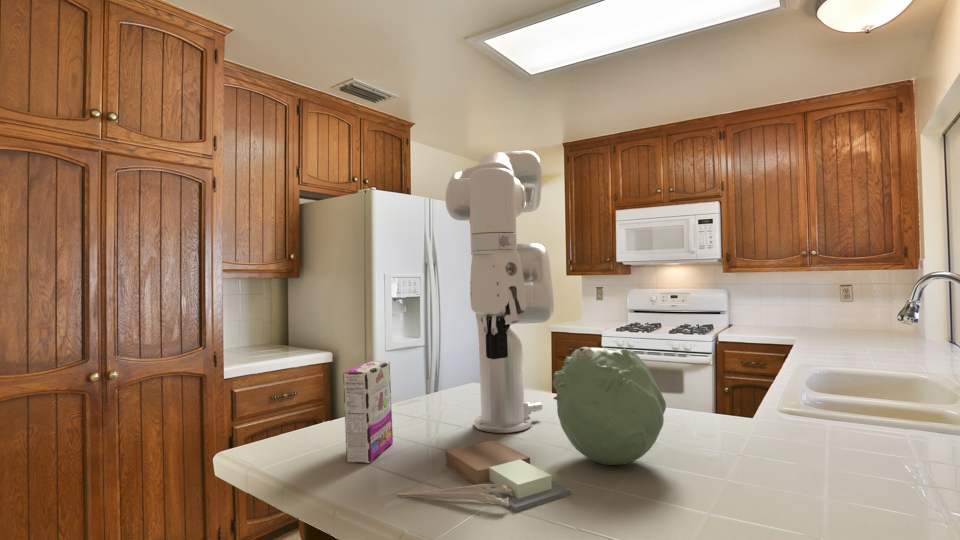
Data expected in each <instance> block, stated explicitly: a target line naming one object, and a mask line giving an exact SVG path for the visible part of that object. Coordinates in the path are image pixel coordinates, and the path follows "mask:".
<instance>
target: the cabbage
mask: <svg viewBox="0 0 960 540" xmlns="http://www.w3.org/2000/svg"><path fill="white" fill-rule="evenodd" d="M563 365H564V366H562V367H561V370H558V371H556V370H555V371H554V374H553V380H552V384H551V385H552V387H553V389H555V391H556V396H554V397H553V400H555V401H556V407H557V408H556V409H557V410H556V412H557V416H558V420H559V423H560V427H561V429H562V430H563V432H564V434H565V436H566V437H567V439H568V441H569V442H570V443H571V445H572V447H574V449H576V451H578V452H579V453H580V454H582V455H583V456H584V457H586V458H587V459H589V460H591V461H593V462H596V463H599V464H600V465H606V466H617V465H618V466H619V465H621V466H622V465H626V464H629V463H632V462H635V461H637V460H639V459H640V458H642V457H643V456H644V455H645V454H646V453H648V452H649V451H650V450H651V448H652V447H653V446H654V444H655V443H656V441H657V439H658V437H659V435H660V432H661V430H662V429H663V426H664V421H665V420H664V419H665V418H664V417H665V416H664V414H665V411H666V408H667V404H666V403H667V402H666V401H665V398H664V396H663V394H662V392H661V389H659V387H658V385H657V382H656V380H655V378H654V376H653V374H652V372H651V370H650V368H649V366H648V365H647V364H646V363H645V362H644V361H642V358H640V356H639V355H637V353H636V352H635V351H631V350H628V349H626V348H622V349H616V350H613V349H607V348H602V347H587V346H582V347H580V348H578V349H576V350H574V351H572V353H571V355H570V356H565V358H564V361H563Z"/></svg>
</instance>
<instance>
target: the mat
mask: <svg viewBox="0 0 960 540" xmlns="http://www.w3.org/2000/svg"><path fill="white" fill-rule="evenodd" d="M551 483H552V489H549V490H546V491H543V492H539V493H536V494H533V495H529V496H526V497H523V498H520V499H518V498H517V497H515V496H514V495H513V497H512V496H510V495H509V494H505V493H487V494H489V495H495V496H496V497H498V498H502V499H506V498H509V500H508V501H509V506H508V507H507V508H509V509H510V510H511V511H513V512H514V513H517V512H520V511H523V510H526V509H529V508H532V507H535V506H538V505H541V504H544V503H548V502H552V501H553V500H558V499H560V498H563V497H566V496H569V495H571V494H572V493H571V492H572V491H571V489H569V488H568V487H566V486H564V485H561V484H560V483H558V482H556V481H554V480H552V479H551ZM480 484H495V483H493V482H491V481H488V482H484V483H480ZM491 488H492V489H495V488H496V487H491ZM483 489H485V488H484V487H483Z"/></svg>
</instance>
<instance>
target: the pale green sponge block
mask: <svg viewBox="0 0 960 540" xmlns="http://www.w3.org/2000/svg"><path fill="white" fill-rule="evenodd" d="M489 480H490V481H491V482H493V483H495V484H500V485H504V486H509V488H511V489H512V490H513V492H512V494H513V495H514V496H515V497H517V498H518V499H520V498H523V497H526V496H529V495H533V494H536V493H539V492H543V491H546V490H549V489H552V483H551V480H552V475H551V474H550V473H548V472H545V471H544V470H541V468H538V467H536V466H534V465H532V464H531V463H530V464H528V463H526V462H524V461H522V460H516V461H512V462H508V463H504V464H500V465H496V466H493V467H489Z"/></svg>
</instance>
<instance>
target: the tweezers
mask: <svg viewBox="0 0 960 540" xmlns="http://www.w3.org/2000/svg"><path fill="white" fill-rule="evenodd" d="M483 487H484V488H485V489H483ZM491 487H496V488H495V489H492V488H491ZM512 492H513V490H512V489H511V488H509V486H504V485H500V484H478V485H475V484H473V485H466V486H459V487H457V486H456V487H449V488H442V489H433V490H425V491H415V492H414V491H413V492H412V491H411V492H404V493H403V492H398V493H397V494H396V495H397V496H399V497H411V498H433V499H452V500H453V499H454V500H456V499H457V500H466V501H467V500H468V501H477V502H481V503H488V504H489V503H490V504H496V505H500V506H506V507H507V508H509V507H508V506H509V501H508V500H509V498H506V499H502V498H498V497H496V496H495V495H489V494H488V493H505V494H509V495H510V496H512V497H513V494H512Z"/></svg>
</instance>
